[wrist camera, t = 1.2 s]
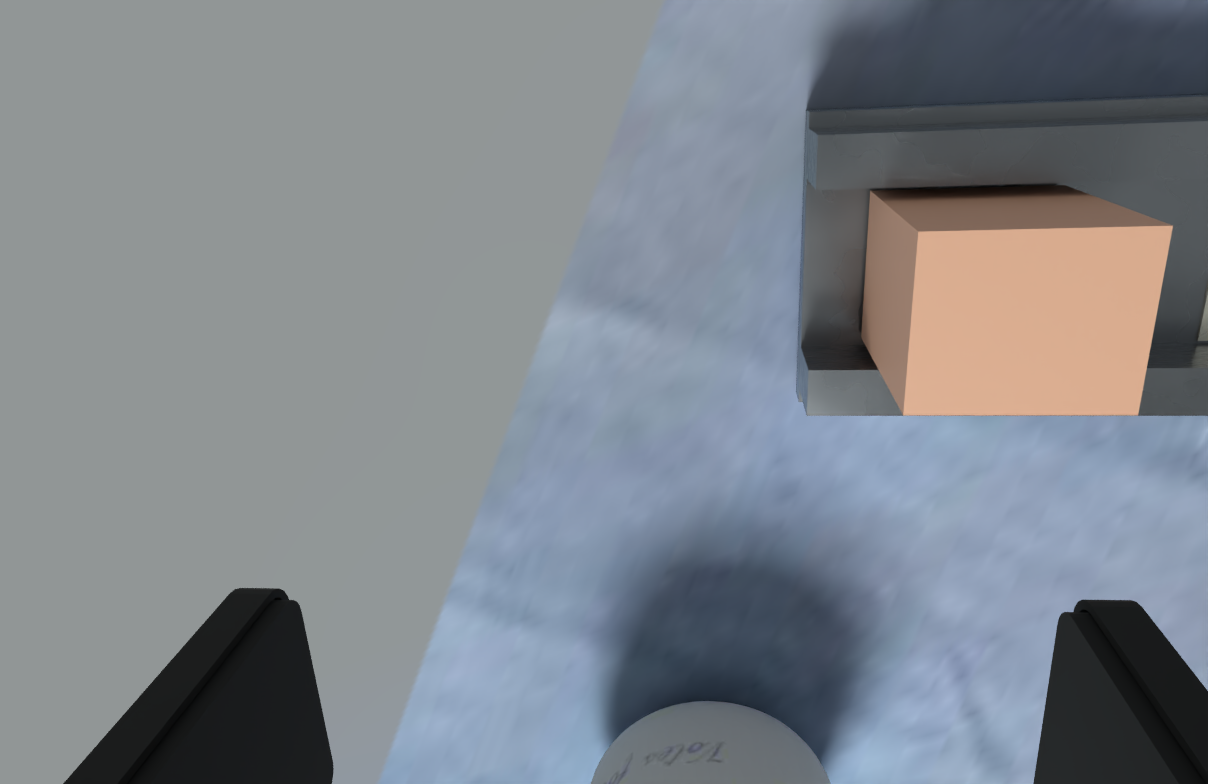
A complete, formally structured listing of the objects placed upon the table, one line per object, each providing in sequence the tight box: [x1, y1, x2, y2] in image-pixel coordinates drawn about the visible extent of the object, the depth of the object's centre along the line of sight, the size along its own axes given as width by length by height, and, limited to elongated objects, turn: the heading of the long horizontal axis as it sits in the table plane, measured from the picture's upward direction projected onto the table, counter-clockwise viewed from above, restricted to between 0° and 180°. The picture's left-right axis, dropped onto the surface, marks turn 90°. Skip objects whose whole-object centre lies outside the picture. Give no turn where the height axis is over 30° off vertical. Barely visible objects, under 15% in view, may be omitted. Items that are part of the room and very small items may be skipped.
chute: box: [796, 94, 1208, 416], centre depth 28 cm, size 22×10×4 cm, turn 93°
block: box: [861, 185, 1173, 415], centre depth 26 cm, size 6×5×7 cm
